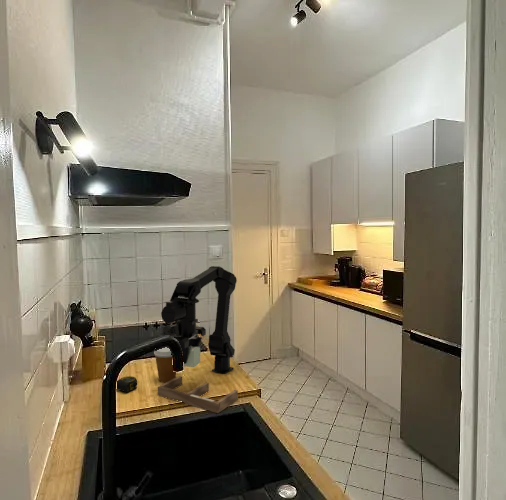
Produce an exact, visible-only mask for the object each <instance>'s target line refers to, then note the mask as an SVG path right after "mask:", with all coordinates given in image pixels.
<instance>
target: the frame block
mask: <svg viewBox="0 0 506 500" xmlns="http://www.w3.org/2000/svg"><path fill="white" fill-rule="evenodd" d="M200 363H201V346H198V347H192V346H191V350H190V353H189V357H188V360H187V363H186V364H184V366H183V367H190V368H196V367H197V366H198V365H199V364H200Z"/></svg>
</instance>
